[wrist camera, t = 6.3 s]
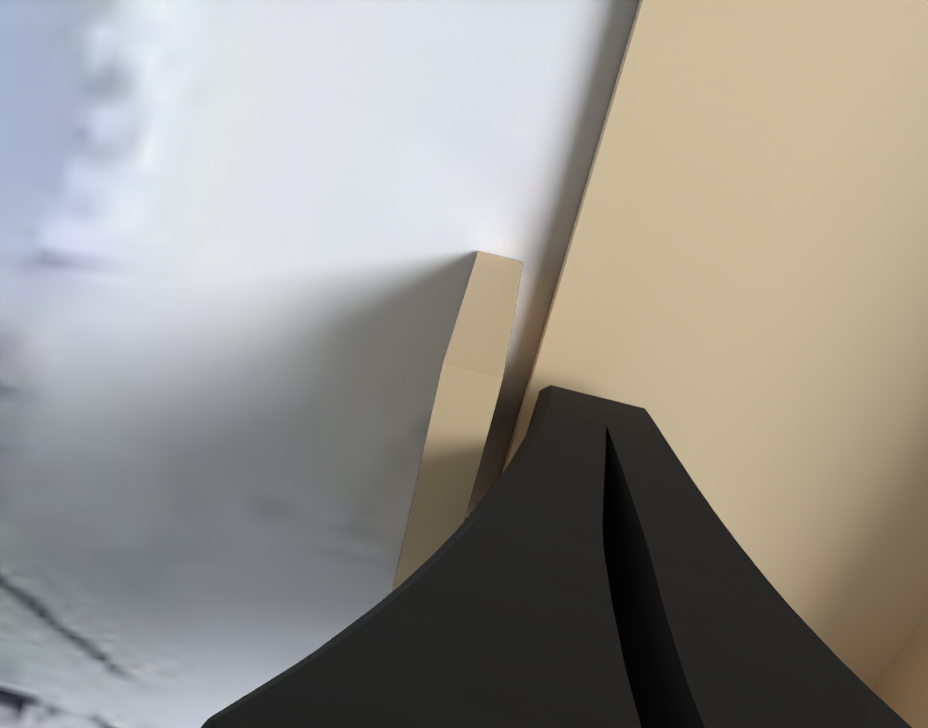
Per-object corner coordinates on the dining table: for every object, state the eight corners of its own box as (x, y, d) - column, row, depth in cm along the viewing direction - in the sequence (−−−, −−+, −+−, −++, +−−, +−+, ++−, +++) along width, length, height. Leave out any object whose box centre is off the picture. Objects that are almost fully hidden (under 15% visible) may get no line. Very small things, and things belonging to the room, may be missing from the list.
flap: (436, 599, 13) (398, 776, 11) (397, 589, 13) (348, 764, 11) (526, 262, 10) (506, 390, 7) (474, 249, 10) (434, 372, 7)
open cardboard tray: (872, 715, 13) (942, 905, 11) (461, 612, 14) (432, 777, 11) (1677, -355, 6) (2428, -540, 4) (801, -556, 6) (948, -874, 4)
